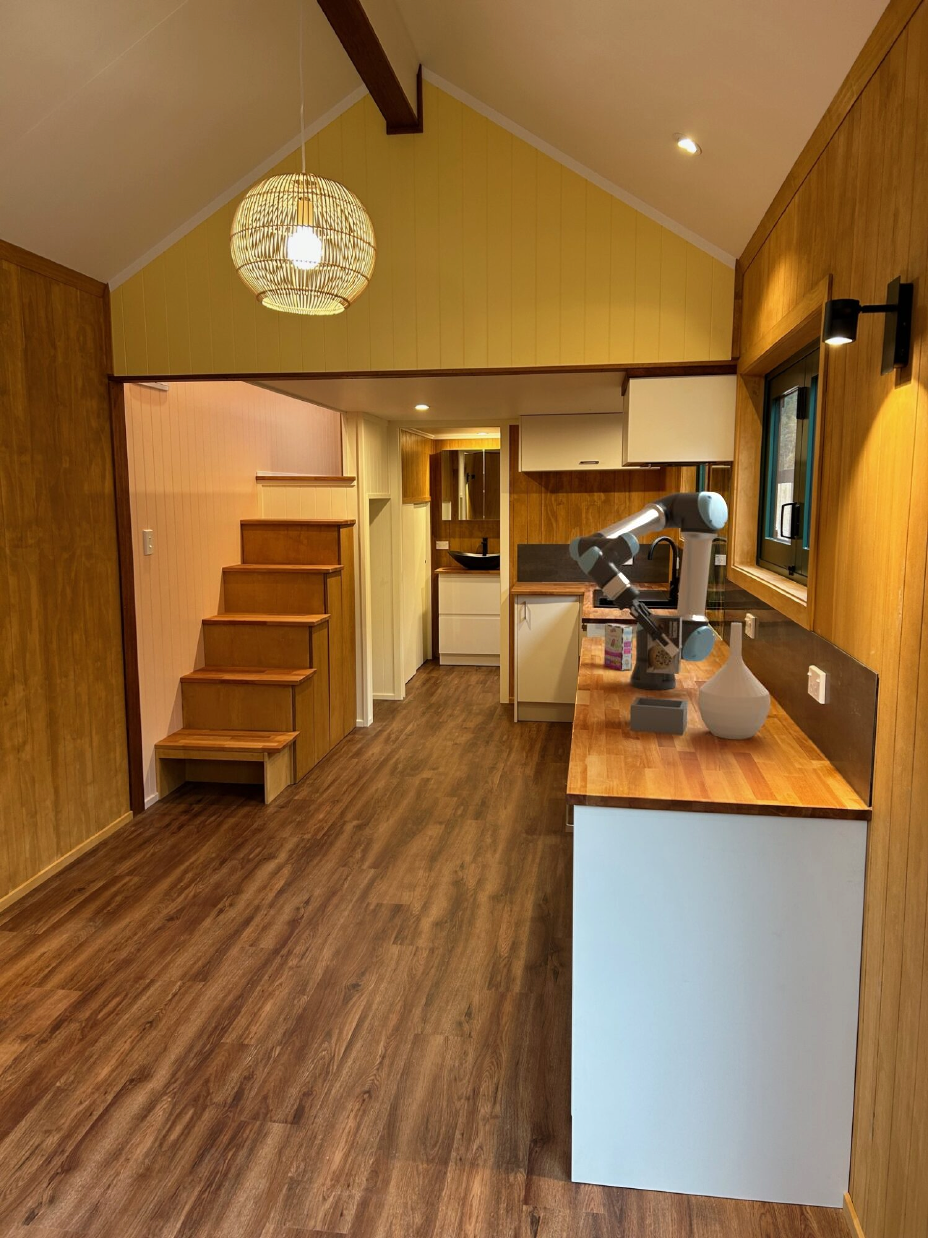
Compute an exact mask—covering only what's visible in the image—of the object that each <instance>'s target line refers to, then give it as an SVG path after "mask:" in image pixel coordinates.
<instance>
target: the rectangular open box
mask: <svg viewBox="0 0 928 1238" xmlns="http://www.w3.org/2000/svg"><path fill="white" fill-rule="evenodd" d="M629 717H630V718H629V730H630V731H632V732H643V733H653V734H654V733H655V734H664V735H677V736H678V735H679V736H684V733H685V730H686V728H687V726H688V700H686V699H685V700H684V699H673V698H672V699H671V698H658V697H645V696H643V697H642V696H636V697H635V699H633V701H632V702H631V704H630V715H629Z"/></svg>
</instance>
